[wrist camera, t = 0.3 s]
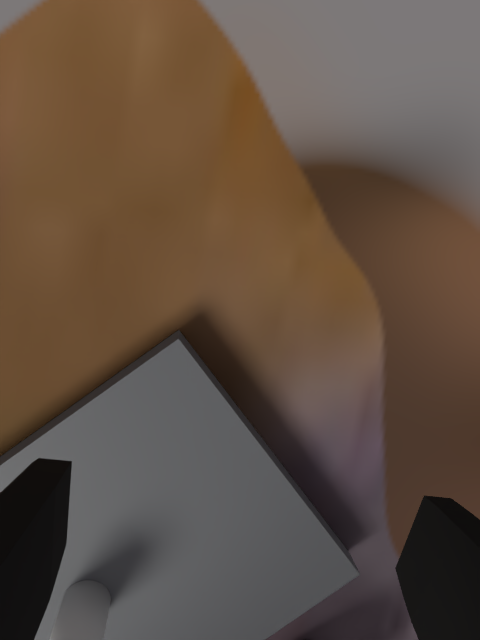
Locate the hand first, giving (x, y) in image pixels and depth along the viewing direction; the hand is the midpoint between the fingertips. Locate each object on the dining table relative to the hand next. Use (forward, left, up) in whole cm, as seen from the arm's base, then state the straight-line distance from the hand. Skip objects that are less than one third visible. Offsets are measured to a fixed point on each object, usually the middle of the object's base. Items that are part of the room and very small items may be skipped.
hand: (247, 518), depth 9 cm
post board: (-10, -5, -11) cm, 16 cm away
